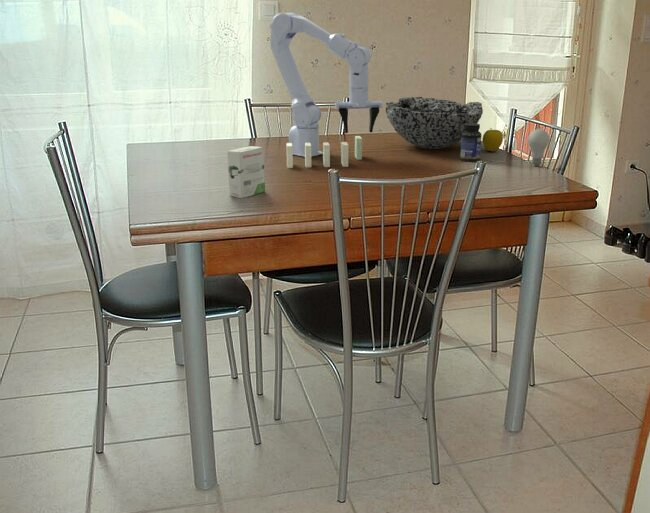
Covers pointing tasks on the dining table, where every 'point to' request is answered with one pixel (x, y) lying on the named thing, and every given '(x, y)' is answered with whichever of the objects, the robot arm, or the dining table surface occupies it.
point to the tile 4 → (344, 154)
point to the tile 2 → (307, 155)
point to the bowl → (431, 120)
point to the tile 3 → (326, 154)
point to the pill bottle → (470, 142)
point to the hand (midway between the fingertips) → (358, 132)
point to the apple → (492, 140)
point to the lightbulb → (538, 145)
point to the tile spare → (358, 147)
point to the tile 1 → (289, 155)
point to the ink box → (246, 171)
